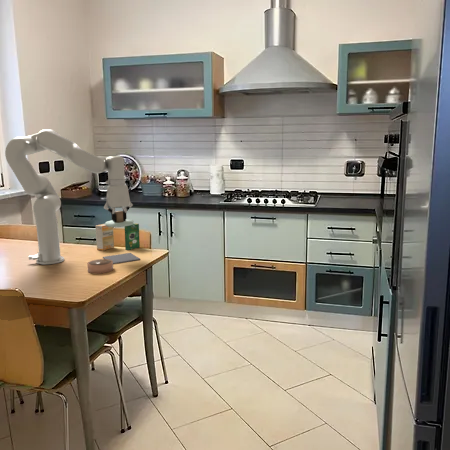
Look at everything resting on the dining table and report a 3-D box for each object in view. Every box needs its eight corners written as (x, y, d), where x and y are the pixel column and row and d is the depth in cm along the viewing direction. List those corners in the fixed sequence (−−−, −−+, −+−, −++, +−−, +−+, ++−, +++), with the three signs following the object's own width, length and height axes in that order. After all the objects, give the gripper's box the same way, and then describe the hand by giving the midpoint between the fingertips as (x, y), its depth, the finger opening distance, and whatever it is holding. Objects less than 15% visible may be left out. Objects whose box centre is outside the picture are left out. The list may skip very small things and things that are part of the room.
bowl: (91, 275, 204) (91, 266, 203) (84, 269, 213) (84, 261, 212) (116, 270, 209) (116, 263, 209) (108, 265, 219) (108, 257, 218)
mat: (111, 264, 220) (111, 263, 220) (102, 257, 232) (102, 256, 231) (140, 260, 227) (140, 258, 227) (130, 253, 239) (130, 252, 238)
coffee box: (136, 246, 254) (135, 222, 251) (140, 247, 252) (139, 223, 249) (125, 249, 247) (123, 225, 245) (128, 250, 246) (127, 225, 243)
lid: (110, 228, 217) (109, 214, 216) (102, 223, 228) (101, 211, 227) (137, 224, 224) (136, 211, 222) (128, 220, 235) (127, 208, 233)
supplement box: (103, 250, 246) (101, 226, 243) (96, 249, 248) (95, 225, 246) (114, 247, 252) (113, 223, 250) (108, 246, 255) (106, 222, 252)
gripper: (101, 184, 215) (104, 224, 218) (136, 182, 223) (138, 220, 227) (96, 183, 221) (99, 222, 225) (131, 181, 229) (133, 218, 233)
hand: (119, 220), depth 226 cm, fingers closed on lid, 4 cm apart
